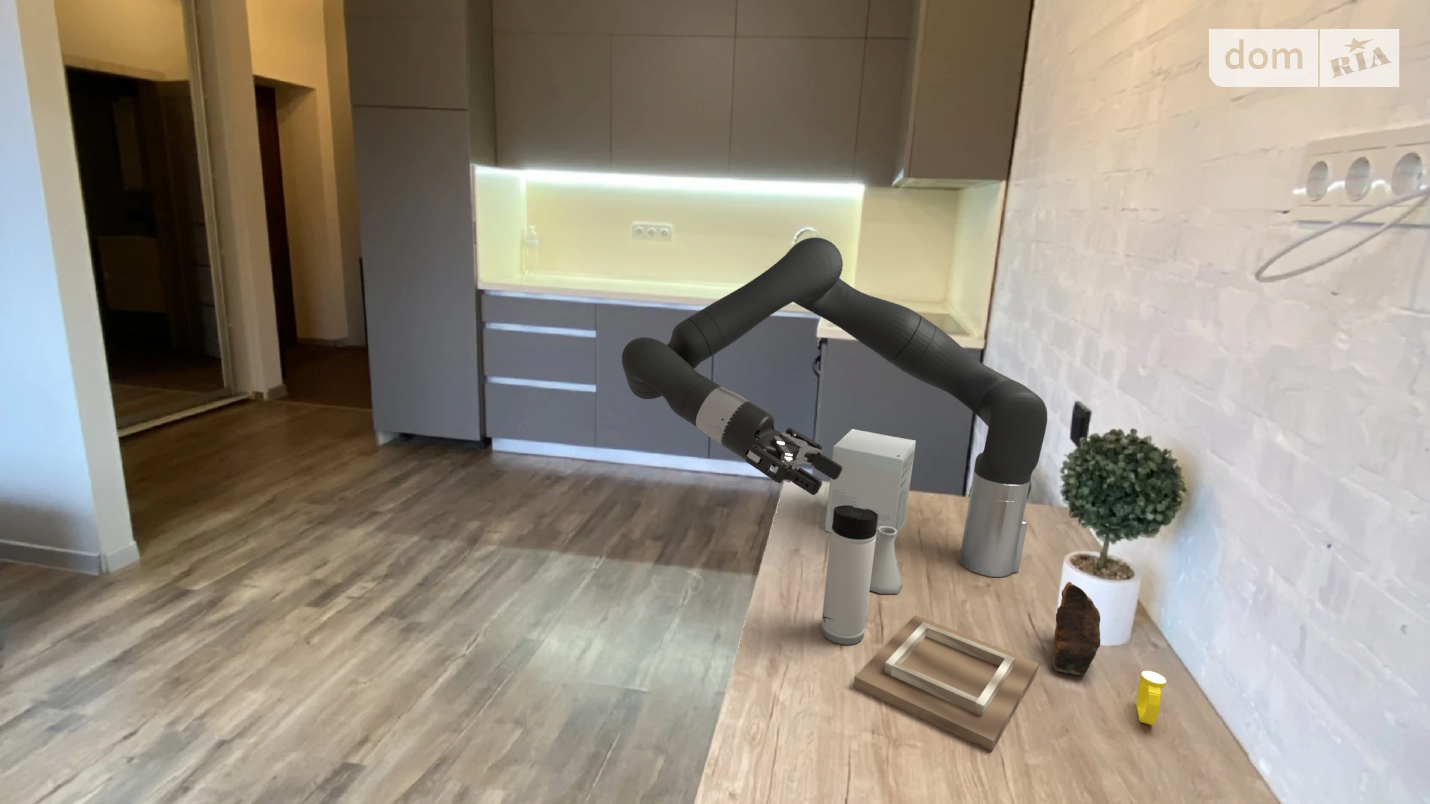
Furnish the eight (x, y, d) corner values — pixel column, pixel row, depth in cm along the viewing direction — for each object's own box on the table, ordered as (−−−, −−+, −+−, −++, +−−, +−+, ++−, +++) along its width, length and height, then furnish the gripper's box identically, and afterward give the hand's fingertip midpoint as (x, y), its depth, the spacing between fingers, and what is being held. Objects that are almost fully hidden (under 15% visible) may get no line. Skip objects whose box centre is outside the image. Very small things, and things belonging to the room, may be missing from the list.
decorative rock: (1052, 630, 114) (1065, 567, 111) (1095, 643, 111) (1110, 579, 108) (1044, 671, 103) (1058, 602, 101) (1092, 686, 101) (1108, 616, 98)
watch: (1128, 702, 99) (1137, 661, 97) (1152, 708, 98) (1161, 667, 96) (1135, 727, 93) (1145, 684, 92) (1160, 734, 92) (1170, 691, 91)
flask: (903, 598, 120) (911, 542, 118) (857, 591, 122) (864, 536, 119) (901, 577, 127) (909, 523, 124) (858, 571, 128) (865, 517, 126)
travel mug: (815, 639, 108) (828, 512, 102) (826, 617, 113) (839, 496, 108) (858, 651, 105) (874, 522, 100) (867, 627, 111) (882, 504, 106)
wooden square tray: (913, 623, 113) (916, 606, 112) (1036, 672, 103) (1040, 654, 102) (853, 686, 98) (856, 666, 97) (991, 751, 87) (995, 730, 87)
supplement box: (906, 522, 149) (918, 440, 144) (891, 548, 138) (904, 459, 133) (842, 507, 154) (851, 427, 150) (823, 531, 143) (832, 445, 138)
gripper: (722, 408, 101) (824, 470, 95) (764, 393, 113) (857, 447, 108) (701, 454, 103) (799, 517, 98) (745, 434, 116) (834, 490, 110)
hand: (829, 481), depth 103 cm, fingers open, 8 cm apart
